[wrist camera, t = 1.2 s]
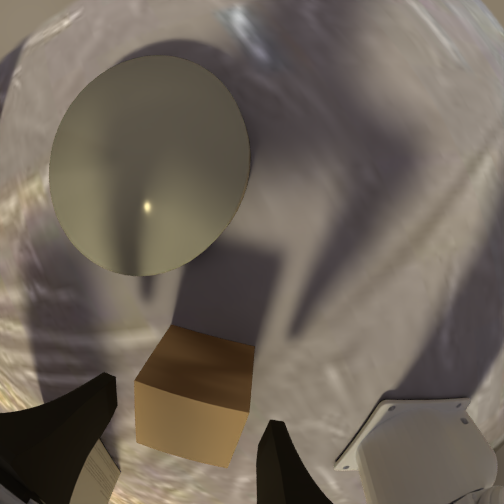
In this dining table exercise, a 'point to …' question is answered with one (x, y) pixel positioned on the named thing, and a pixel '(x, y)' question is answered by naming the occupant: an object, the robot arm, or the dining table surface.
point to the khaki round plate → (149, 165)
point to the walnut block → (194, 396)
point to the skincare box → (96, 478)
